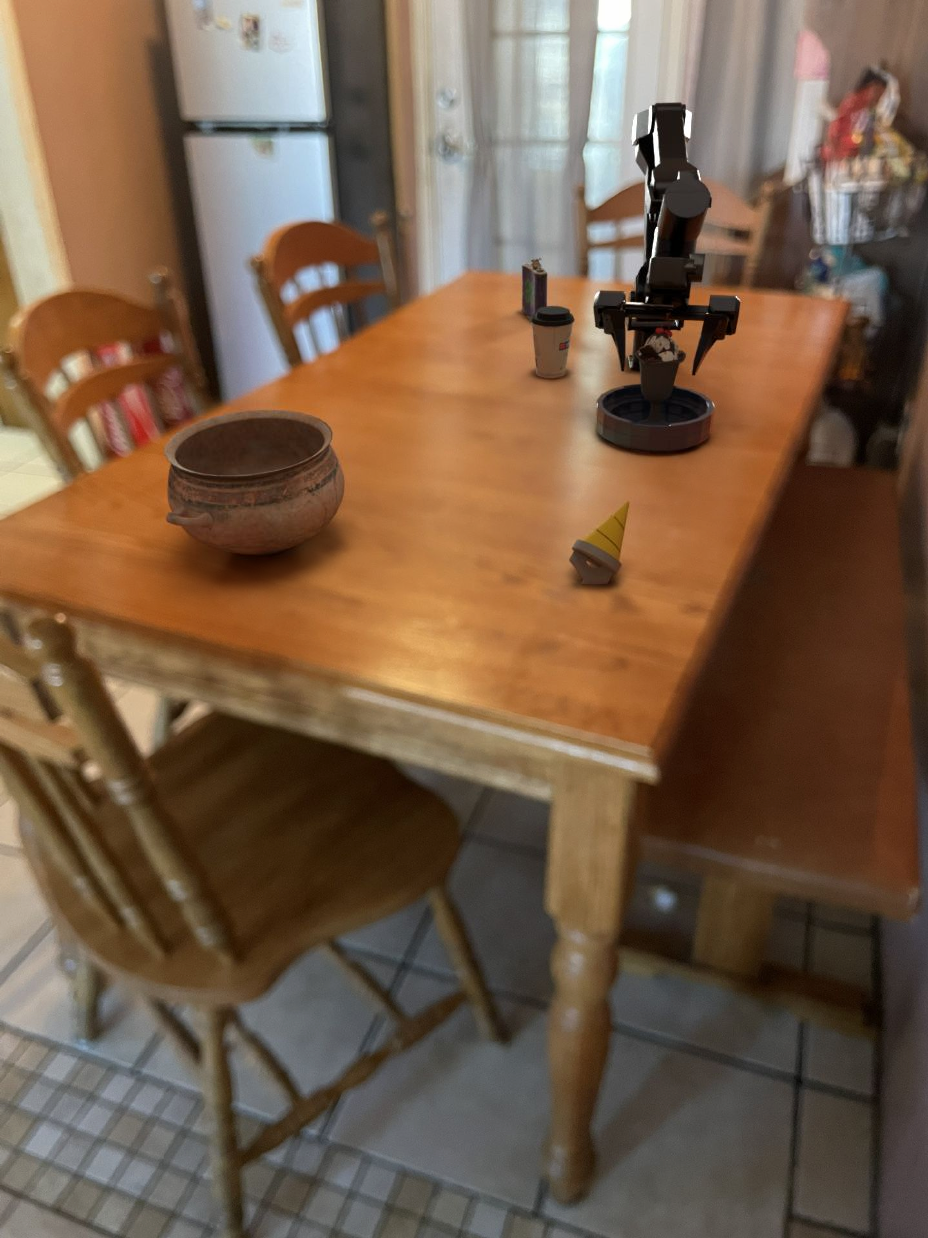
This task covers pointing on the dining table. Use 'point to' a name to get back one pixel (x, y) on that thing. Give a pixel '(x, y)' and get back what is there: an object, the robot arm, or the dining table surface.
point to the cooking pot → (254, 480)
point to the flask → (533, 287)
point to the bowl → (680, 410)
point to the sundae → (658, 369)
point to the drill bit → (601, 549)
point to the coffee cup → (551, 340)
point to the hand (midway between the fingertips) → (657, 371)
